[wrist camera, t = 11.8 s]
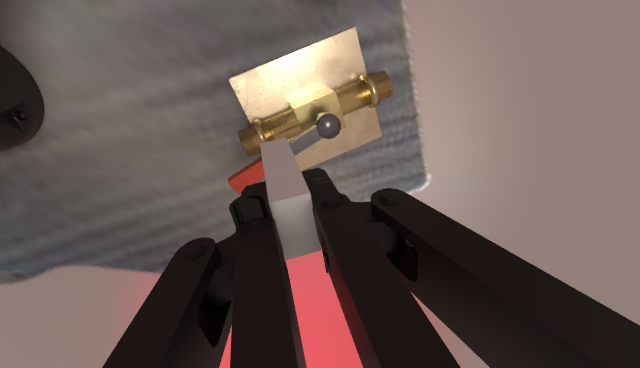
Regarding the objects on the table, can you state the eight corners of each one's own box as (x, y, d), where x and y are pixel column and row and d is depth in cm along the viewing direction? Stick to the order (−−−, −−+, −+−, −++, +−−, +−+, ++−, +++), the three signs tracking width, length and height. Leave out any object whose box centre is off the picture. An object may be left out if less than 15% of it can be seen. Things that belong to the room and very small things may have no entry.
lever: (330, 107, 36) (334, 109, 35) (341, 127, 38) (345, 130, 36) (226, 174, 37) (225, 179, 36) (241, 191, 39) (240, 197, 37)
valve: (268, 182, 49) (271, 209, 41) (216, 83, 41) (208, 93, 32) (389, 130, 50) (416, 146, 42) (364, 22, 41) (393, 16, 33)
